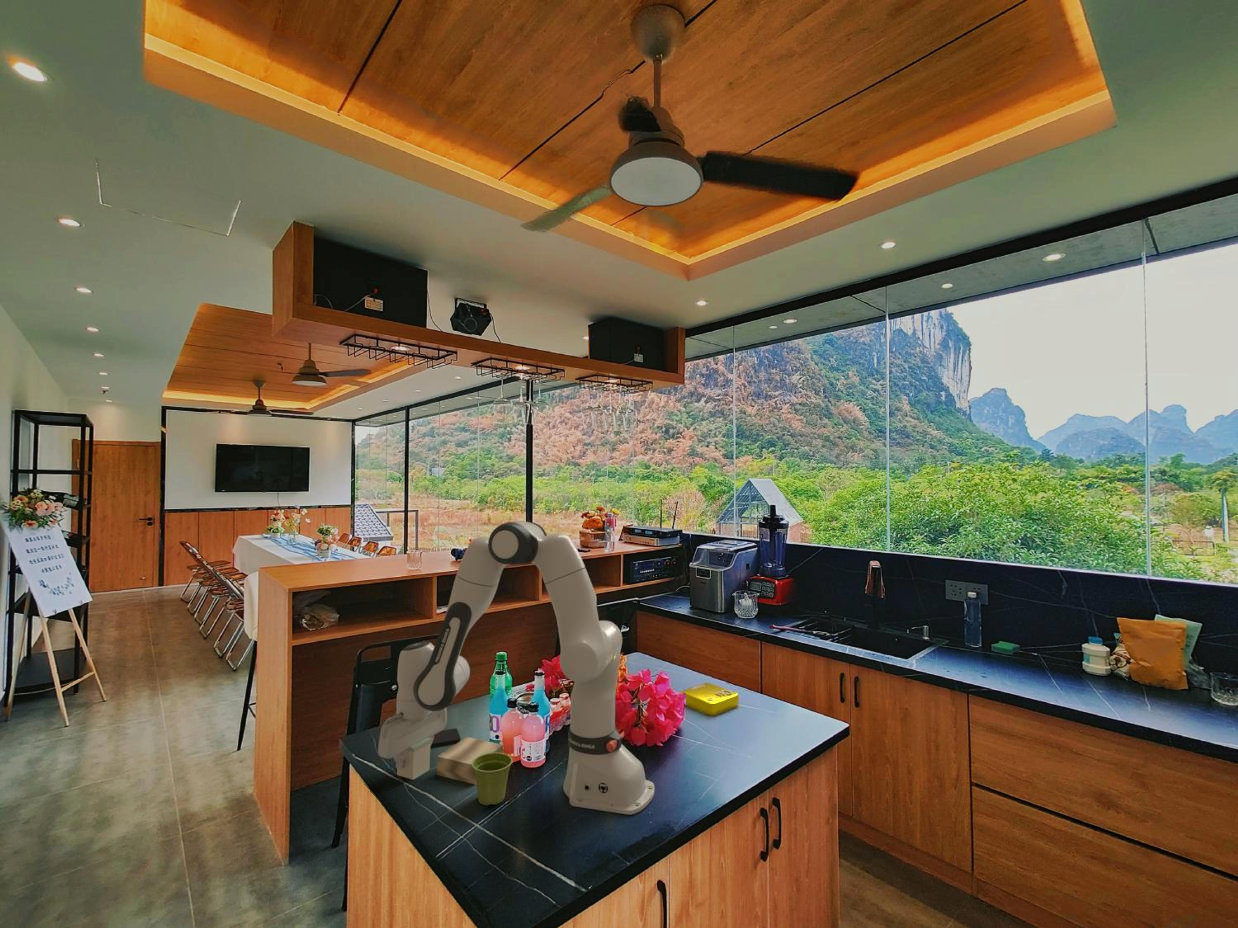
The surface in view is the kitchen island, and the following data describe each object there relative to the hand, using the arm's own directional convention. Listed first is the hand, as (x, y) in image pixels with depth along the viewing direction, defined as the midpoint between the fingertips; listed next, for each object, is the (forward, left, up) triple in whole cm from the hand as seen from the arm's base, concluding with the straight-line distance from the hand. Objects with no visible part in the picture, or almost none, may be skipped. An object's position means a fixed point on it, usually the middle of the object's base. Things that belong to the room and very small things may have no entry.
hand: (413, 760), depth 144 cm
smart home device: (+10, -13, -4) cm, 17 cm away
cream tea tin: (0, 0, -3) cm, 3 cm away
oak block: (-12, -8, -3) cm, 15 cm away
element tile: (-56, -78, -4) cm, 96 cm away
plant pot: (-26, +1, -3) cm, 26 cm away
